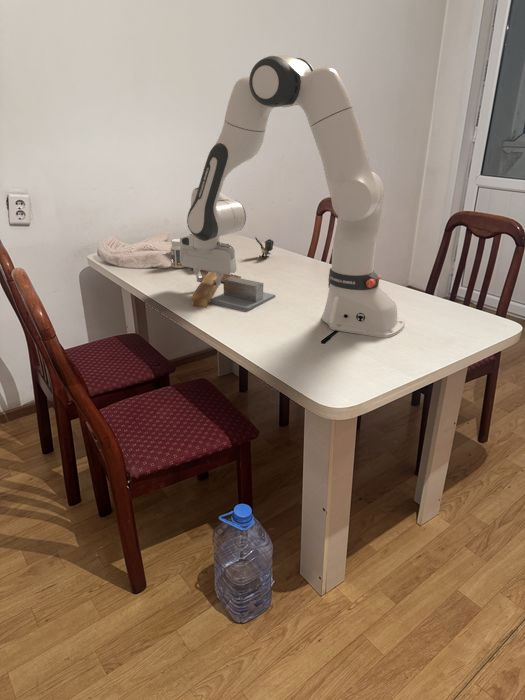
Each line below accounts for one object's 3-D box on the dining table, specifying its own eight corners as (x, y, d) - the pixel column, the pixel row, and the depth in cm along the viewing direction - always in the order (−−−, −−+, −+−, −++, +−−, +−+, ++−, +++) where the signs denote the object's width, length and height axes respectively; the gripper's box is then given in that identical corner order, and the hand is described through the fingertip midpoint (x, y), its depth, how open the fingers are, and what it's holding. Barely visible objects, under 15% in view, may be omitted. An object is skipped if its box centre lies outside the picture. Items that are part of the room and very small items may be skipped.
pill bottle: (188, 264, 194) (187, 238, 189) (184, 268, 188) (183, 242, 184) (174, 264, 194) (172, 238, 190) (169, 268, 189) (168, 241, 185)
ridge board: (275, 298, 159) (275, 279, 157) (248, 312, 148) (248, 291, 145) (238, 290, 166) (238, 271, 164) (210, 302, 155) (209, 283, 152)
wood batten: (220, 283, 173) (220, 272, 171) (206, 307, 151) (205, 295, 150) (209, 283, 173) (208, 271, 172) (193, 307, 152) (192, 294, 150)
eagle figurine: (253, 261, 200) (253, 238, 196) (254, 256, 206) (255, 234, 202) (273, 261, 199) (273, 238, 196) (273, 257, 206) (274, 235, 202)
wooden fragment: (247, 280, 174) (247, 277, 174) (221, 289, 168) (221, 286, 168) (207, 264, 193) (206, 261, 192) (182, 271, 187) (181, 268, 186)
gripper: (240, 242, 154) (240, 286, 160) (188, 234, 164) (191, 276, 170) (227, 246, 149) (228, 291, 155) (175, 238, 159) (178, 280, 165)
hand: (208, 283), depth 163 cm, fingers closed on wood batten, 5 cm apart
